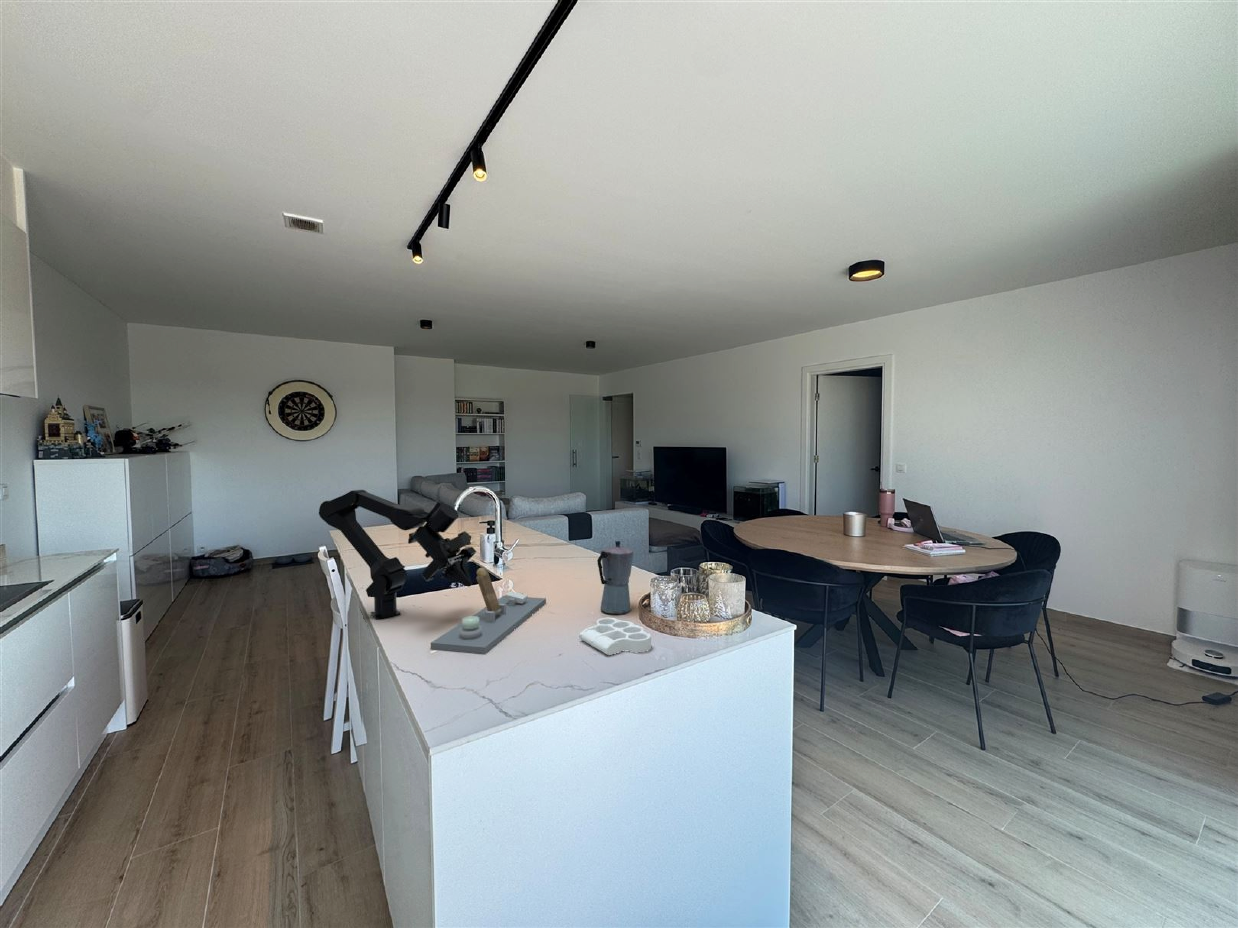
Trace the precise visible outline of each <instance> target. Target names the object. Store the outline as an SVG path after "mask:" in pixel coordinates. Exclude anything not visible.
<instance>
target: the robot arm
mask: <svg viewBox="0 0 1238 928" xmlns="http://www.w3.org/2000/svg"><path fill="white" fill-rule="evenodd" d="M359 508H362V509H364V510H367V511H369V512H371V513H374V514H376V515H379V516H381V517H384V518H387V519H388V520H389V521H390V523H392V525H393V526H395V527H397V528H399V529H400V530H402V531H410V530H414V529H416V530H415V531H414V532H410V533H409V534H408V538H407V539H408V541H407V543H408V544H413V543H416V542H417V543H418V544H419V546H420V547H421V548H422V549H423V550H424V551H425V552H426V553H425V554H424V557H426V558H431V560H432V561H430V563H429V564H428V565H427V566H426V567H425V568H424V569H423V570H422V577H423V578H424V580H425V581H426V582H429V581H432V580H433V579H435V574H436V573H437V572H439V571H441V572H442V573H443V574H441V575H440V578H441V579H443V578H444V579H446V580H450V581H453V582H455V583H457V584H460V585H464V586H465V587H469V588H470V587H471V586H472V585H473V581H472V579H471V576H470V574H469V572H468V569H467V566H466V565H467V563H468V562H469V561H470V560H471V559H472V557H474V556H475V555H476V553H477V550H476V549H475V548H474V547H473V546H469V545H472V542H471V540H472V535H470V534H469V532H467V531H466V530H465V531H461V532H460V533H458V534H457V536H456V537H453V538H452V539H450V538H449V537H446V538H444V537H443V536H442V535H441V534H440V533H445V532H447V530H448V529H449V528H450V527H451V526H452V525H453V524H454V522H455V521H457V519H458V518H459V512H458V511H457V509H455V508H454V507H452V506H450V505H449V504H446V503H444V501H438V502H437V503H436V504H435V505H434V507H432V509H431V511H425V510H424V508H422V507H418V506H413V505H404V504H403V505H402V504H398V503H396V502H393V501H391V500H387V499H385V498H383V497H380V496H377V495H375V494H373V493H370V492H368V491H366V490H365V489H354V490H350V491H348V492H347V493H345V494H342V495H340V496H338V497H336V498H333V499H330V500H325V501H322V503H320V505H319V508H318V509H319V510H318V515H319V517H320V518H321V520H323V521H324V523H326V524H327V525H328V526H330V527H332V528H334V529H336V530H338V531H340V532H341V533H342V535H343V536H344V538H346V539H347V541H348V542H349V543H350V544H351V545H350V546H352V547H353V548H354V550H355V551H356V552H357V553H358V555H359V556H360V557H361V559H362V560H363V561H364V562H365V563H366V564H367V566H368V567H369V572H370V579H371V581H372V582H371V583H370V585H369V586H367V588H366V589H365V592H366V594H367V597H368V598H373V601H374V602H373V605H374V611H371V612H370V615H371V614H372V615H371V616H372V617H373V618H374V619H375V620H382V619H385V618H391V617H396V616H401V611H399V610H398V609H397V608H398V607H397V606H398V605H397V592H398V591H400V590H403V587H404V585H405V582H406V581H407V576H408V575H407V574H408V573H407V571H406V569H405V568H406V566H405V565H403V563H401V561H400V559H399V558H398V557H396V556H394V557H392V558H389V557H387V556H386V555H385V554H384V553H383V551H382V550H381V548H379V547H378V545H377V544H376V543H375V542H374V540H373V539H372V538H371V537H370V535H369V533H367V532H366V530H365V529H364V528H363V527H362V526H361V524H360V522H358V521H357V513H356V510H357V509H359ZM463 547H464V548H463Z"/></svg>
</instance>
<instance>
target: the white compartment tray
mask: <svg viewBox="0 0 1238 928" xmlns="http://www.w3.org/2000/svg"><path fill="white" fill-rule="evenodd" d="M595 623H596V624H595V625H593V626H589V627H587V628H585V629H584V630H581V632H579V635H578V637H579V639H580V640H581V641H583V642H585V643H587V644H588V645H591V647H593V648H595V649H597V650H599V651H600V652H603V654H606V655H607V656H610V655H612V654H614V653H617V652H620V651H623V650H624V651H625V650H628V651H631V652H644V651H647V650H649V649H650V650H652V634H651V633H649V632H646V631H645V628H643V627H642V626H641V625H636V624H634V623H633V622H632V621H628V620H620V619H618V618H616V617H602V618H599V619H598V620H596V622H595ZM650 650H649V651H650ZM631 652H630V653H631ZM647 652H648V651H647ZM620 653H621V652H620ZM644 653H645V652H644ZM612 656H613V655H612Z"/></svg>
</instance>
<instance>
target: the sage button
mask: <svg viewBox="0 0 1238 928" xmlns="http://www.w3.org/2000/svg"><path fill="white" fill-rule="evenodd" d="M461 623H462V628H464V629H474V628H477V627H479V617H477V616H473V615H470V616H464V617H463V618H462V619H461Z"/></svg>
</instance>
